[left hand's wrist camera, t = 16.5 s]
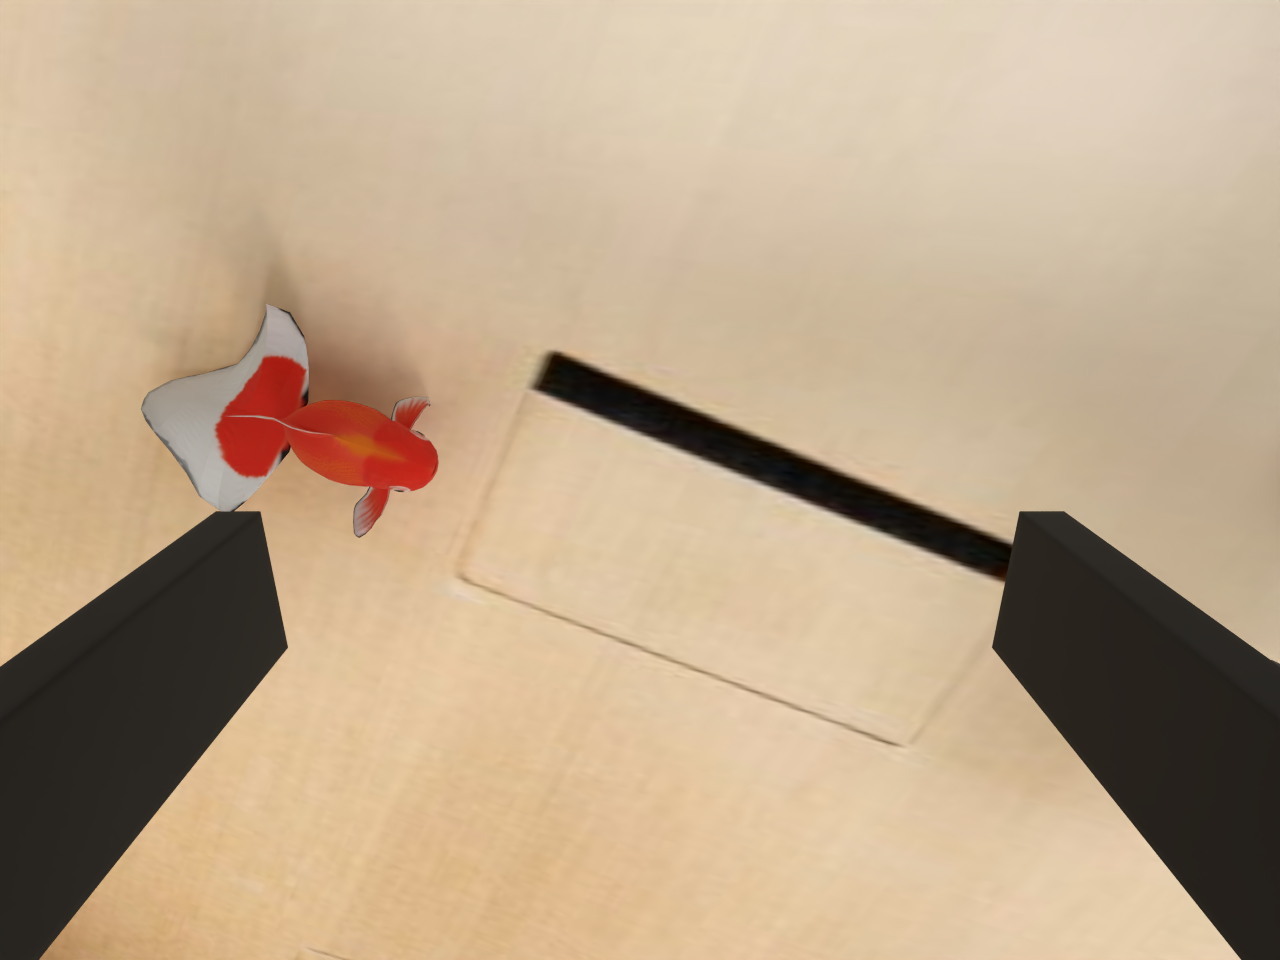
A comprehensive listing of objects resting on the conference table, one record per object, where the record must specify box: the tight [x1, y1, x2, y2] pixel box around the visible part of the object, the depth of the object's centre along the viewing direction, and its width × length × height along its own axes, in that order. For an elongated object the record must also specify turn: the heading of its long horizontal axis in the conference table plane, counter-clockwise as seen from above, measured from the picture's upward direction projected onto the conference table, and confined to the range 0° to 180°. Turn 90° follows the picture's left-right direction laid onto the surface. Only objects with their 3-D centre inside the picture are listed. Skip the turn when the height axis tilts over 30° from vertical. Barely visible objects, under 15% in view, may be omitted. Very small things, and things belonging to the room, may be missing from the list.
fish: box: [141, 304, 438, 538], centre depth 37 cm, size 11×16×10 cm
